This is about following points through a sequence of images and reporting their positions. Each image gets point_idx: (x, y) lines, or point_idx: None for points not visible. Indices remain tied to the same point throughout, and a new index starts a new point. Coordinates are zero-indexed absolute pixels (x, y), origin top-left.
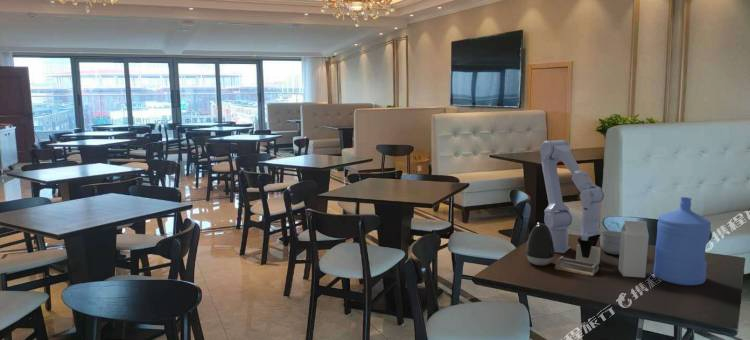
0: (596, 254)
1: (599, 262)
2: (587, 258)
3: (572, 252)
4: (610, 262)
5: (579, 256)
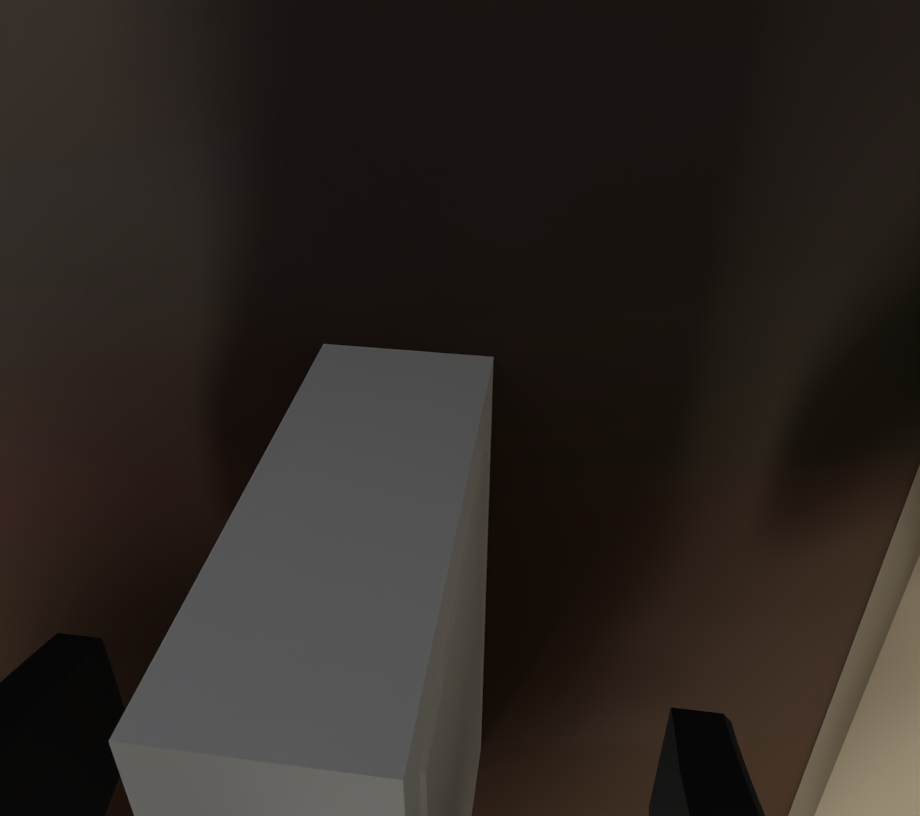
0: (446, 618)
1: (329, 351)
2: (476, 659)
3: None
4: (51, 73)
5: (472, 799)
